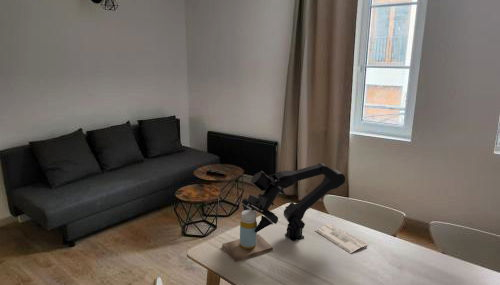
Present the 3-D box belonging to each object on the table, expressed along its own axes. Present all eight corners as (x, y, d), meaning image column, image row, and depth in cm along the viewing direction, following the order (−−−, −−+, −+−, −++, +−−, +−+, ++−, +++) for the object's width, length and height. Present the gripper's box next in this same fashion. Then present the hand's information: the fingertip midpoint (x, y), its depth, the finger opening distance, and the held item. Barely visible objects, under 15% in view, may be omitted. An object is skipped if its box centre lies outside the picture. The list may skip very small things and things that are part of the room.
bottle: (254, 250, 143) (255, 218, 139) (238, 248, 144) (238, 215, 140) (257, 242, 149) (258, 210, 146) (241, 239, 151) (242, 208, 147)
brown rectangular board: (258, 237, 156) (258, 234, 156) (272, 250, 146) (272, 247, 146) (222, 246, 148) (222, 243, 147) (234, 261, 138) (234, 258, 137)
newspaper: (369, 247, 152) (370, 242, 151) (350, 257, 146) (350, 252, 145) (332, 224, 170) (332, 220, 169) (313, 233, 164) (313, 228, 163)
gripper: (244, 180, 150) (224, 210, 146) (274, 194, 136) (252, 228, 132) (258, 193, 157) (238, 222, 153) (287, 207, 143) (266, 240, 139)
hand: (248, 227), depth 144 cm, fingers open, 9 cm apart
